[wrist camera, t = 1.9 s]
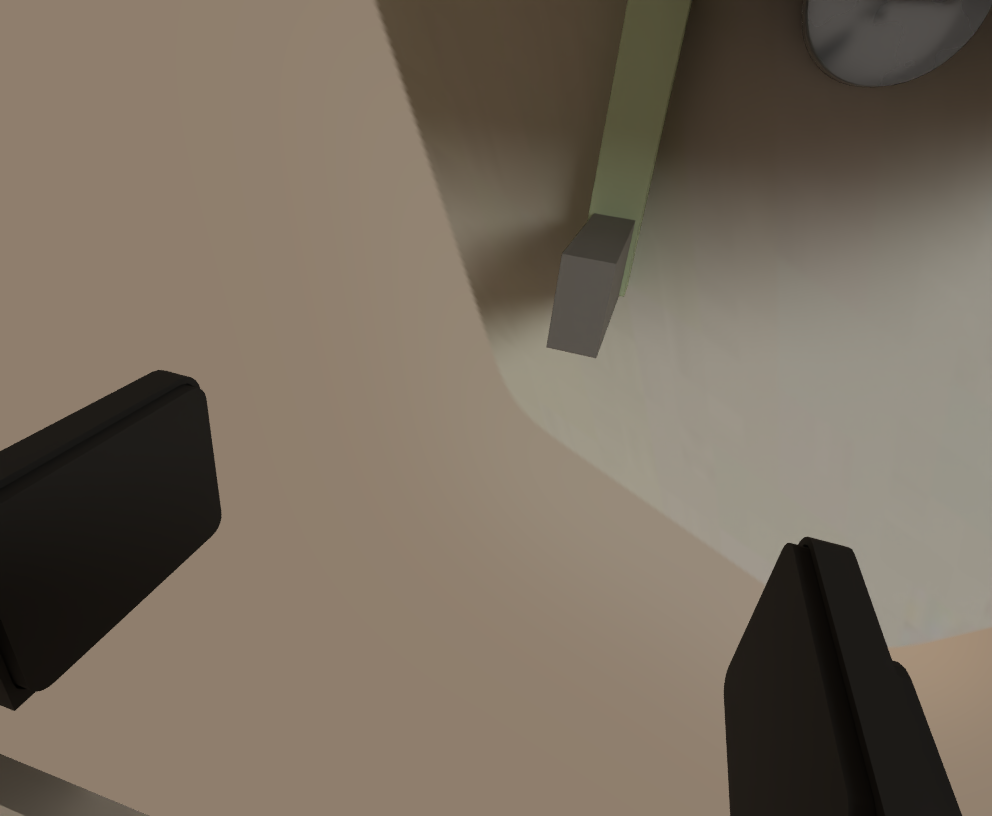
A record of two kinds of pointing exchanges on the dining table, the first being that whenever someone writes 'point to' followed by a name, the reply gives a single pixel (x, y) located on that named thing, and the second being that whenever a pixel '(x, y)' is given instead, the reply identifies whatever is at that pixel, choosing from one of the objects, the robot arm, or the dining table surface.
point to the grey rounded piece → (887, 36)
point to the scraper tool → (620, 176)
